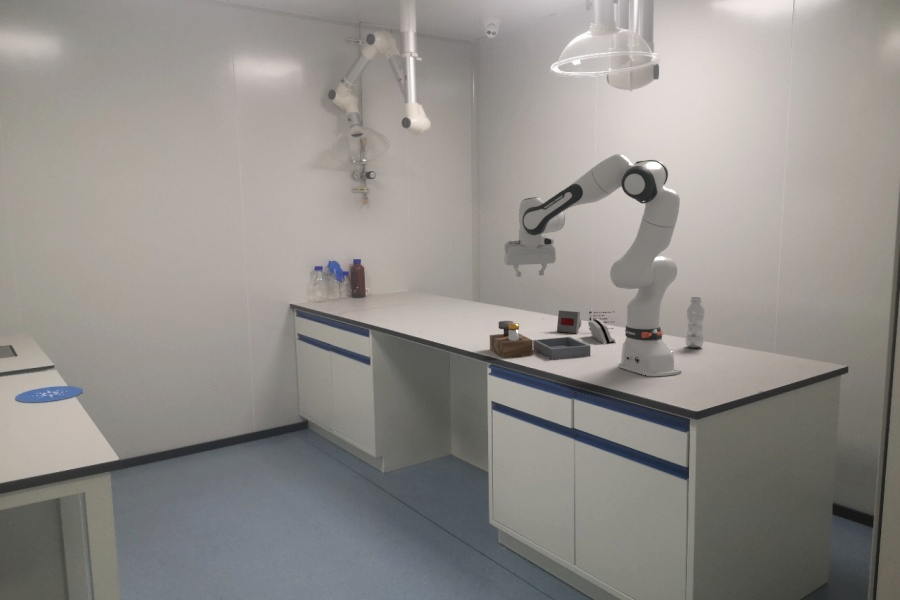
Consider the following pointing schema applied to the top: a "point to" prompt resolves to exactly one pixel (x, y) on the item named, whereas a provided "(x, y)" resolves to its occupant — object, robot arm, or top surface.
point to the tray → (561, 347)
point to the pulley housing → (510, 343)
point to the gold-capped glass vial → (513, 332)
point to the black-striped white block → (600, 331)
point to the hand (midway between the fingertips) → (529, 275)
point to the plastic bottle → (695, 323)
